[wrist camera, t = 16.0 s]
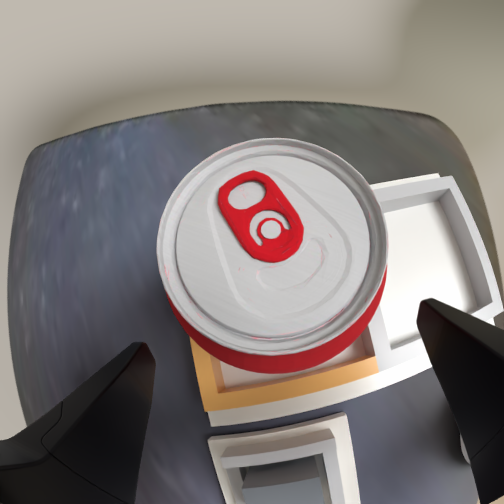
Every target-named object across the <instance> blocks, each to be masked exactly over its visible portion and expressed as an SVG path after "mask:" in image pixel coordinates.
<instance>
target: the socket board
mask: <svg viewBox="0 0 504 504" xmlns="http://www.w3.org/2000/svg"><path fill="white" fill-rule="evenodd" d="M369 186H370V187H371V188H372V190H373V191H374V193H375V195H376V197H377V199H378V201H379V203H380V205H381V208H382V211H383V213H384V216H385V220H386V225H387V231H388V243H389V247H388V260H387V276H386V283H385V287H384V291H383V295H382V298H381V301H380V304H379V306H378V308H377V310H376V312H375V314H374V316H373V318H372V319H371V321H370V323H369V324H368V325H367V327H366V328H365V330H364V331H363V332H362V333H361V334H360V336H359V337H358V338H357V339H356V340H355V341H354V342H353V343H352V344H351V345H350V346H349V347H347V348H346V349H345V350H344V351H342V352H341V353H340V354H338V355H336V356H335V357H333V358H332V359H330V360H328V361H326V362H324V363H322V364H320V365H317V366H315V367H312V368H309V369H306V370H302V371H297V372H292V373H284V374H264V373H256V372H250V371H246V370H243V369H239V368H236V367H233V366H231V365H228V364H226V363H224V362H222V361H220V360H218V359H217V358H215V357H213V356H212V355H210V354H209V353H208V352H206V351H205V350H204V349H202V348H201V347H200V346H199V345H198V344H197V343H196V342H195V341H194V340H193V339H192V338H191V337H190V342H191V348H192V353H193V358H194V364H195V369H196V374H197V379H198V383H199V388H200V393H201V397H202V402H203V406H204V410H205V412H208V415H209V419H210V423H211V427H215V426H225V425H233V424H241V423H248V422H255V421H261V420H267V419H272V418H278V417H283V416H287V415H292V414H297V413H301V412H305V411H309V410H313V409H317V408H321V407H325V406H328V405H332V404H336V403H339V402H342V401H346V400H349V399H352V398H355V397H358V396H361V395H364V394H367V393H370V392H373V391H375V390H378V389H381V388H383V387H386V386H389V385H391V384H394V383H396V382H399V381H401V380H403V379H406V378H408V377H410V376H413V375H415V374H417V373H419V372H422V371H424V370H426V369H428V368H430V367H432V365H431V363H430V360H429V357H428V355H427V352H426V349H425V346H424V344H423V341H422V338H421V336H420V333H419V331H418V328H417V324H416V319H417V314H418V309H419V304H420V302H421V301H422V300H424V299H427V298H434V299H436V300H439V301H441V302H443V303H445V304H448V305H450V306H452V307H454V308H457V309H459V310H461V311H463V312H466V313H468V314H470V315H472V316H474V317H477V318H479V319H481V320H483V321H485V322H488V323H490V324H492V325H494V320H493V317H494V316H496V315H497V314H499V313H501V312H502V311H504V310H503V306H502V302H501V298H500V294H499V290H498V286H497V283H496V279H495V276H494V273H493V270H492V267H491V263H490V260H489V258H488V255H487V252H486V249H485V246H484V244H483V241H482V239H481V236H480V234H479V231H478V229H477V226H476V224H475V222H474V219H473V217H472V215H471V213H470V210H469V208H468V206H467V204H466V202H465V200H464V198H463V196H462V194H461V192H460V190H459V188H458V186H457V184H456V182H455V180H454V179H453V177H452V176H447V177H441V178H440V176H439V174H438V173H437V174H430V175H424V176H418V177H412V178H406V179H400V180H395V181H389V182H384V183H378V184H373V185H369ZM494 326H495V325H494Z"/></svg>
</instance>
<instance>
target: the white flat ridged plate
mask: <svg viewBox="0 0 504 504" xmlns="http://www.w3.org/2000/svg"><path fill="white" fill-rule="evenodd" d="M208 444H209V448H210V452H211V455H212V459H213V462H214V466H215V469H216V472H217V476H218V479H219V482H220V485H221V488H222V492H223V495H224V498H225V501H226V503H227V504H246V503H245V499H244V496H243V493H242V490H241V488H242V485H243V483H244V480H245V477H246V475H247V472H248V469H249V466H255V465H263V464H270V463H276V462H282V461H288V460H293V459H298V458H303V457H307V456H312V455H314V456H315V460H316V464H317V468H318V472H319V476H320V481H321V487H322V492H323V497H324V502H325V504H360V497H359V489H358V481H357V474H356V467H355V461H354V454H353V448H352V442H351V436H350V431H349V425H348V420H347V415H346V414H345V413H344V411H343V412H340V413H337V414H333V415H329V416H326V417H322V418H318V419H314V420H310V421H306V422H302V423H297V424H293V425H288V426H283V427H278V428H272V429H267V430H261V431H254V432H247V433H239V434H231V435H221V436H211V437H210V438H209V439H208Z"/></svg>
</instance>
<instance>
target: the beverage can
mask: <svg viewBox="0 0 504 504" xmlns="http://www.w3.org/2000/svg"><path fill="white" fill-rule="evenodd" d="M388 247H389V243H388V231H387V225H386V220H385V216H384V213H383V211H382V208H381V205H380V203H379V201H378V199H377V197H376V195H375V193H374V191H373V190H372V188H371V187H370V186H369V184H368V183H367V181H366V180H365V179H364V177H363V176H362V175H361V174H360V173H359V172H358V171H357V170H356V169H355V168H353V167H352V166H351V165H350V164H349V163H347V162H346V161H345V160H343V159H342V158H341V157H339V156H338V155H336V154H334V153H332V152H330V151H328V150H326V149H324V148H322V147H319V146H317V145H314V144H311V143H307V142H303V141H299V140H295V139H284V138H264V139H256V140H250V141H246V142H242V143H239V144H235V145H232V146H230V147H227V148H225V149H222V150H220V151H218V152H216V153H214V154H213V155H211V156H210V157H208V158H207V159H205V160H204V161H202V162H201V163H200V164H199V165H197V166H196V167H195V168H194V169H192V170H191V171H190V172H189V173H188V174H187V175H186V176H185V177H184V178H183V180H182V181H181V182H180V184H179V185H178V186H177V188H176V189H175V190H174V192H173V194H172V195H171V197H170V199H169V201H168V202H167V205H166V207H165V210H164V212H163V215H162V217H161V220H160V225H159V231H158V237H157V261H158V267H159V273H160V276H161V279H162V282H163V285H164V288H165V291H166V294H167V298H168V301H169V303H170V306H171V308H172V310H173V313H174V315H175V316H176V318H177V319H178V321H179V323H180V324H181V326H182V327H183V329H184V330H185V332H186V333H187V334H188V335H189V336H190V337H191V338H192V339H193V340H194V341H195V342H196V343H197V344H198V345H199V346H200V347H201V348H202V349H204V350H205V351H206V352H208V353H209V354H210V355H212V356H213V357H215V358H217V359H218V360H220V361H222V362H224V363H226V364H228V365H231V366H233V367H236V368H239V369H243V370H246V371H250V372H256V373H264V374H284V373H292V372H297V371H302V370H306V369H309V368H312V367H315V366H317V365H320V364H322V363H324V362H326V361H328V360H330V359H332V358H333V357H335V356H336V355H338V354H340V353H341V352H342V351H344V350H345V349H346V348H347V347H349V346H350V345H351V344H352V343H353V342H354V341H355V340H356V339H357V338H358V337H359V336H360V334H361V333H362V332H363V331H364V330H365V328H366V327H367V325H368V324H369V323H370V321H371V319H372V318H373V316H374V314H375V312H376V310H377V308H378V306H379V304H380V301H381V298H382V295H383V291H384V287H385V283H386V276H387V260H388Z"/></svg>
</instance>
